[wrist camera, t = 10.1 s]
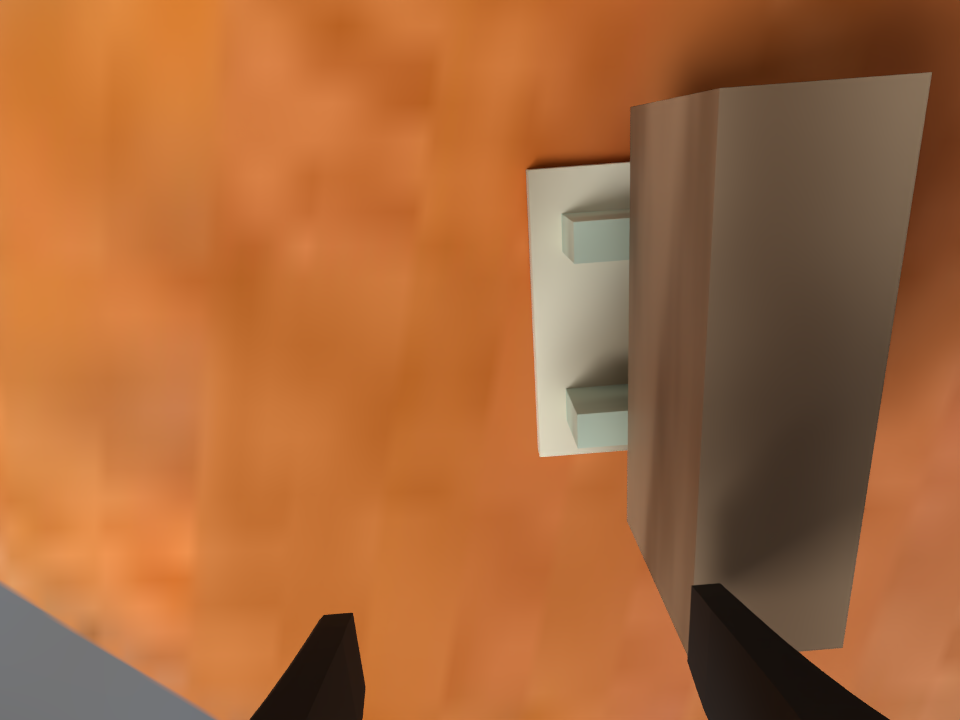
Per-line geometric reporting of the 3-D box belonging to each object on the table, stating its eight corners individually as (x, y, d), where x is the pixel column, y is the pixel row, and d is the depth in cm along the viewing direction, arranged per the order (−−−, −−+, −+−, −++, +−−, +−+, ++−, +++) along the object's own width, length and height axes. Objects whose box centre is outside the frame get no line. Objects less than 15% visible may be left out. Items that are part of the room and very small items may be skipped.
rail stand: (805, 148, 20) (858, 149, 17) (777, 430, 23) (818, 467, 21) (526, 169, 20) (536, 173, 17) (537, 449, 23) (548, 488, 20)
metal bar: (770, 96, 17) (931, 72, 11) (738, 511, 21) (842, 647, 15) (630, 107, 17) (719, 88, 11) (626, 520, 21) (689, 660, 15)
